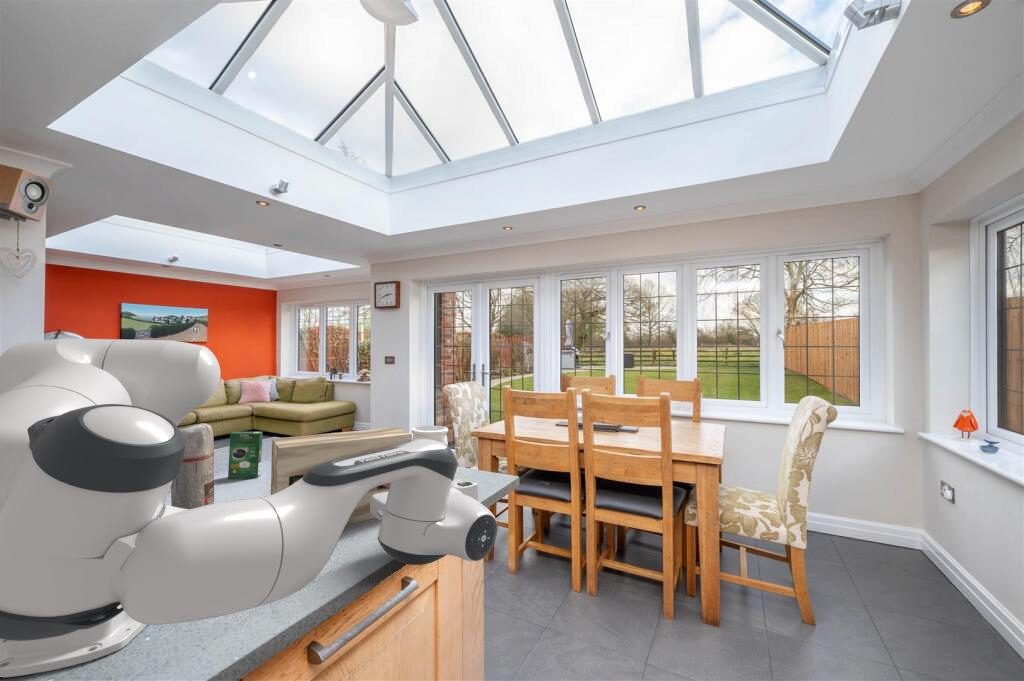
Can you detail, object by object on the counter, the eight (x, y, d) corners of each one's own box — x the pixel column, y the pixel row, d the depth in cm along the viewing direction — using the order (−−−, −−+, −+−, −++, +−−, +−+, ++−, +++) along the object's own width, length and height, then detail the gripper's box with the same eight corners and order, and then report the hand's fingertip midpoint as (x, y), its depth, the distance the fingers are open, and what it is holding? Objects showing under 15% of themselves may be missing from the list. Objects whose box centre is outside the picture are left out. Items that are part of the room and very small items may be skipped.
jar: (454, 477, 128) (455, 427, 129) (433, 487, 119) (434, 433, 119) (424, 473, 133) (425, 423, 133) (402, 482, 123) (403, 429, 124)
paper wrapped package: (190, 522, 93) (193, 429, 94) (159, 518, 95) (162, 427, 95) (223, 508, 102) (226, 422, 102) (194, 504, 103) (197, 420, 104)
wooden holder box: (410, 510, 102) (411, 433, 103) (276, 538, 86) (278, 447, 86) (394, 497, 110) (396, 427, 111) (269, 521, 94) (272, 438, 94)
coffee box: (262, 475, 128) (263, 430, 128) (258, 478, 125) (260, 432, 125) (231, 476, 126) (232, 431, 126) (227, 479, 123) (228, 433, 123)
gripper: (383, 538, 74) (359, 512, 86) (484, 513, 86) (451, 494, 98) (384, 501, 75) (359, 480, 86) (484, 481, 87) (451, 466, 98)
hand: (409, 487), depth 92 cm, fingers closed
